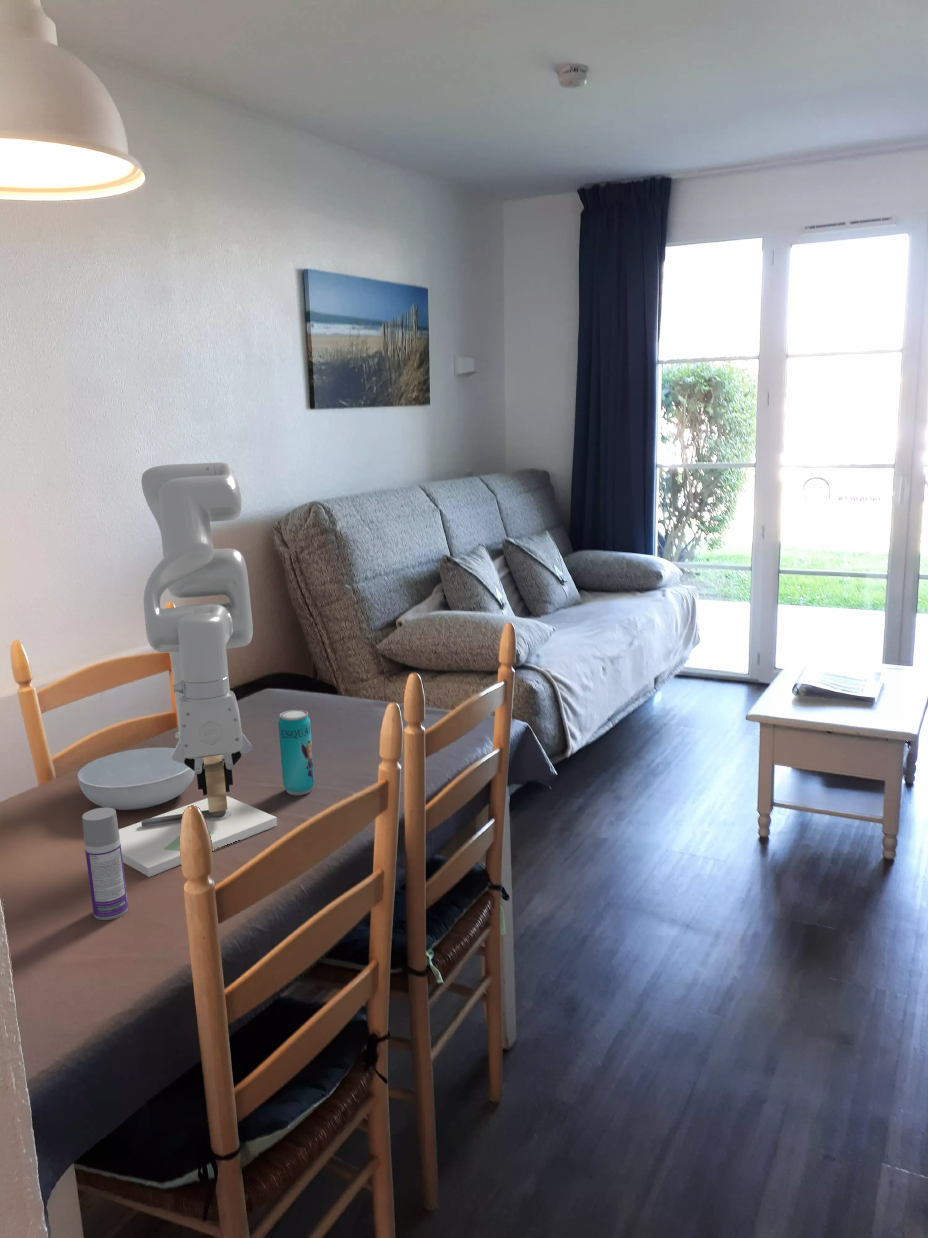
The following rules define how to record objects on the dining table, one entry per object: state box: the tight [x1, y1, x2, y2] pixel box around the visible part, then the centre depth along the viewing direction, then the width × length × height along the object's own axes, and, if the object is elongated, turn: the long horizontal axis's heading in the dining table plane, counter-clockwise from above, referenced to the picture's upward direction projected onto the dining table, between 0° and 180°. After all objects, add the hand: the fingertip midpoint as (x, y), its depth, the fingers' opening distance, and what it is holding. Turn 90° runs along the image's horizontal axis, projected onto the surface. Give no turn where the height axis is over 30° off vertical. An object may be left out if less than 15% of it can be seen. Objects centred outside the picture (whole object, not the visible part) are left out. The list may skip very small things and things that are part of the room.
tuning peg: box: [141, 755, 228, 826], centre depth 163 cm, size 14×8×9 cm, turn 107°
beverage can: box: [277, 709, 315, 796], centre depth 178 cm, size 6×6×15 cm
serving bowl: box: [76, 747, 196, 811], centre depth 177 cm, size 21×21×7 cm
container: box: [81, 807, 129, 921], centre depth 136 cm, size 5×5×15 cm
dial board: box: [118, 795, 278, 878], centre depth 162 cm, size 18×24×2 cm
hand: (216, 790), depth 165 cm, fingers closed on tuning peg, 3 cm apart
